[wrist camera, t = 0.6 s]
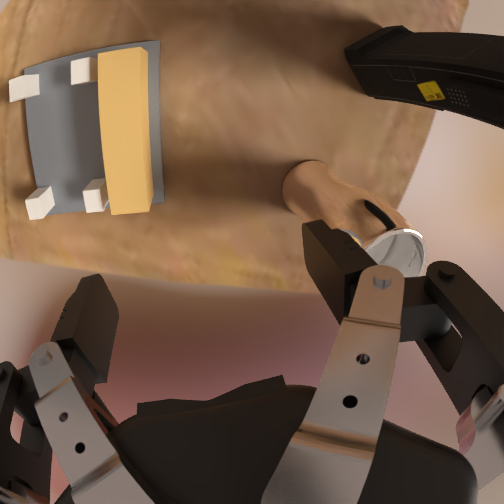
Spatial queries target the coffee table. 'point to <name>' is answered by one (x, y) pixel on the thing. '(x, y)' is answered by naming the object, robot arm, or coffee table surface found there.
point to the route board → (77, 131)
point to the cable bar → (125, 129)
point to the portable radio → (433, 70)
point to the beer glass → (355, 216)
